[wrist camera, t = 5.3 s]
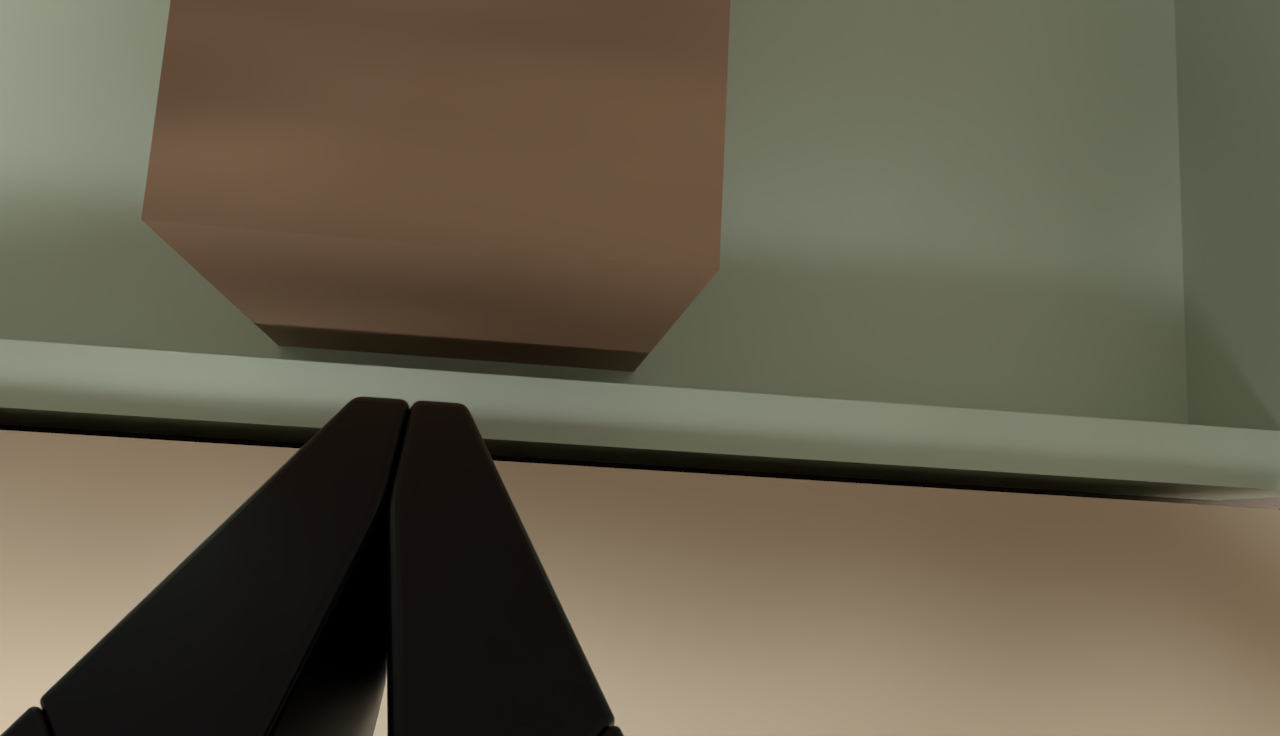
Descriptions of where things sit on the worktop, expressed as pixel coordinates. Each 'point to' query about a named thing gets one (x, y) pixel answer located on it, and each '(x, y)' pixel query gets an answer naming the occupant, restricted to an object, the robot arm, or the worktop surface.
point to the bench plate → (741, 592)
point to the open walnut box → (447, 170)
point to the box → (765, 259)
